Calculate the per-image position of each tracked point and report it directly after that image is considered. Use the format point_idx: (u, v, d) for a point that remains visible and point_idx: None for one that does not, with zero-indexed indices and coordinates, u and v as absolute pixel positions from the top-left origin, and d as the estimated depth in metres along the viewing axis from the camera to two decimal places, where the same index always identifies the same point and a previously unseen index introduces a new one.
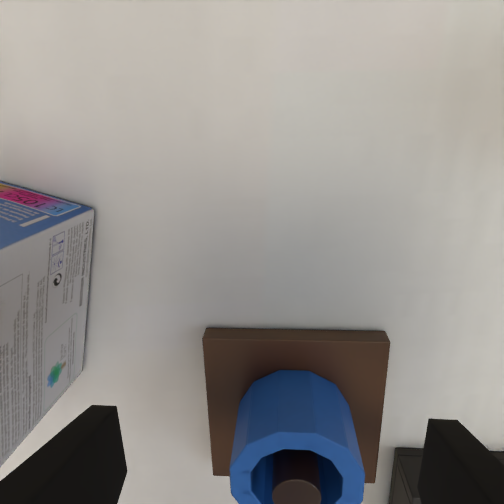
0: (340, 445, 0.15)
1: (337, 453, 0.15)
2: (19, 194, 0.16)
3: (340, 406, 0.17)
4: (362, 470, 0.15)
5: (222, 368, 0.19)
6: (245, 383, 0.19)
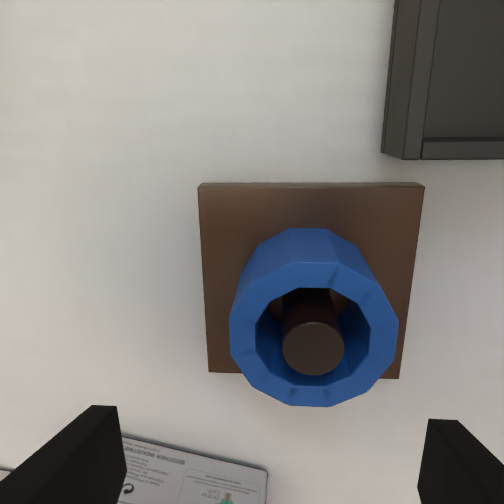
0: (245, 291, 0.12)
1: (257, 295, 0.12)
2: None
3: (257, 256, 0.15)
4: (285, 265, 0.12)
5: None
6: None
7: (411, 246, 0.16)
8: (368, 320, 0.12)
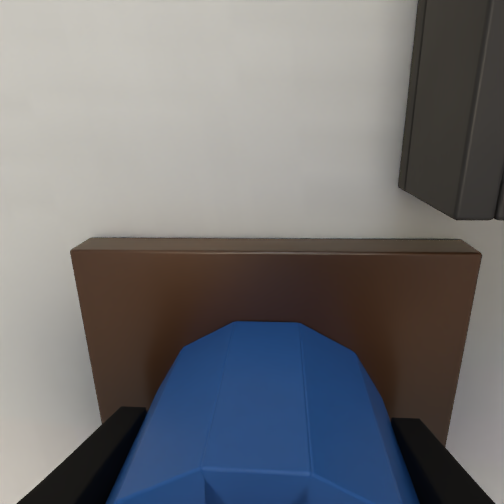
0: None
1: None
2: None
3: (167, 386, 0.08)
4: (187, 472, 0.05)
5: None
6: None
7: (453, 354, 0.09)
8: None
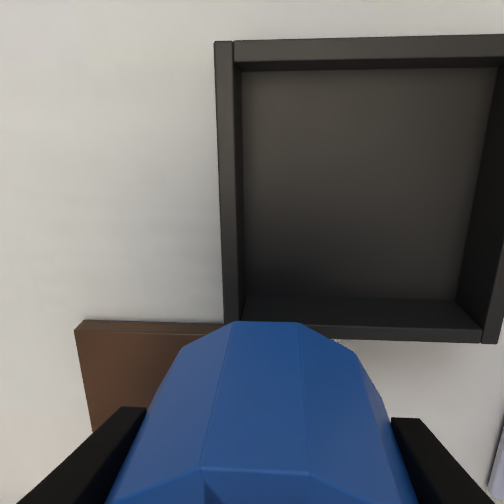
0: None
1: None
2: None
3: (167, 386, 0.08)
4: (185, 472, 0.05)
5: None
6: None
7: None
8: None
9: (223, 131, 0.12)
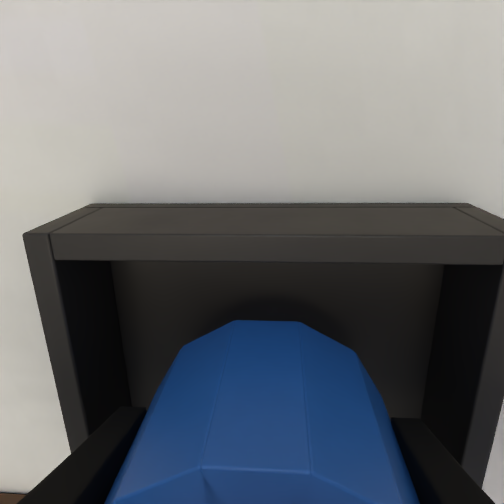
0: None
1: None
2: None
3: (167, 385, 0.08)
4: (186, 470, 0.05)
5: None
6: None
7: None
8: None
9: (54, 343, 0.09)
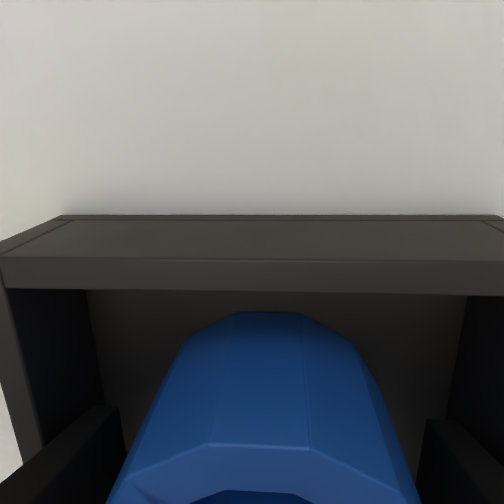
0: (117, 492, 0.06)
1: (141, 500, 0.06)
2: None
3: (173, 373, 0.08)
4: (193, 448, 0.06)
5: None
6: None
7: None
8: None
9: (9, 384, 0.07)
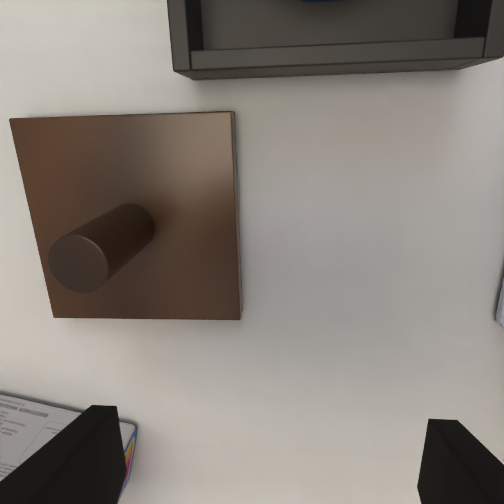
0: None
1: None
2: None
3: None
4: None
5: (84, 301, 0.18)
6: None
7: (228, 176, 0.15)
8: None
9: None
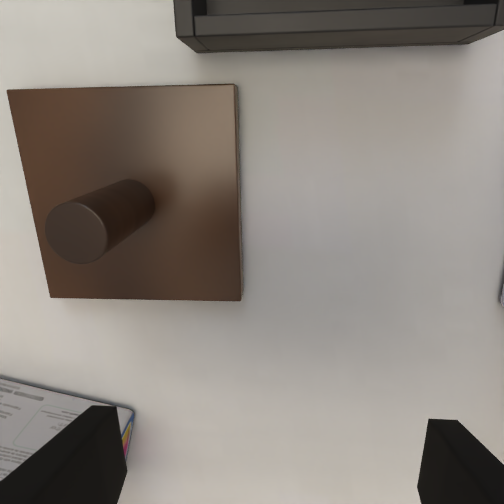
0: None
1: None
2: None
3: None
4: None
5: (81, 280, 0.17)
6: None
7: (230, 151, 0.15)
8: None
9: None
